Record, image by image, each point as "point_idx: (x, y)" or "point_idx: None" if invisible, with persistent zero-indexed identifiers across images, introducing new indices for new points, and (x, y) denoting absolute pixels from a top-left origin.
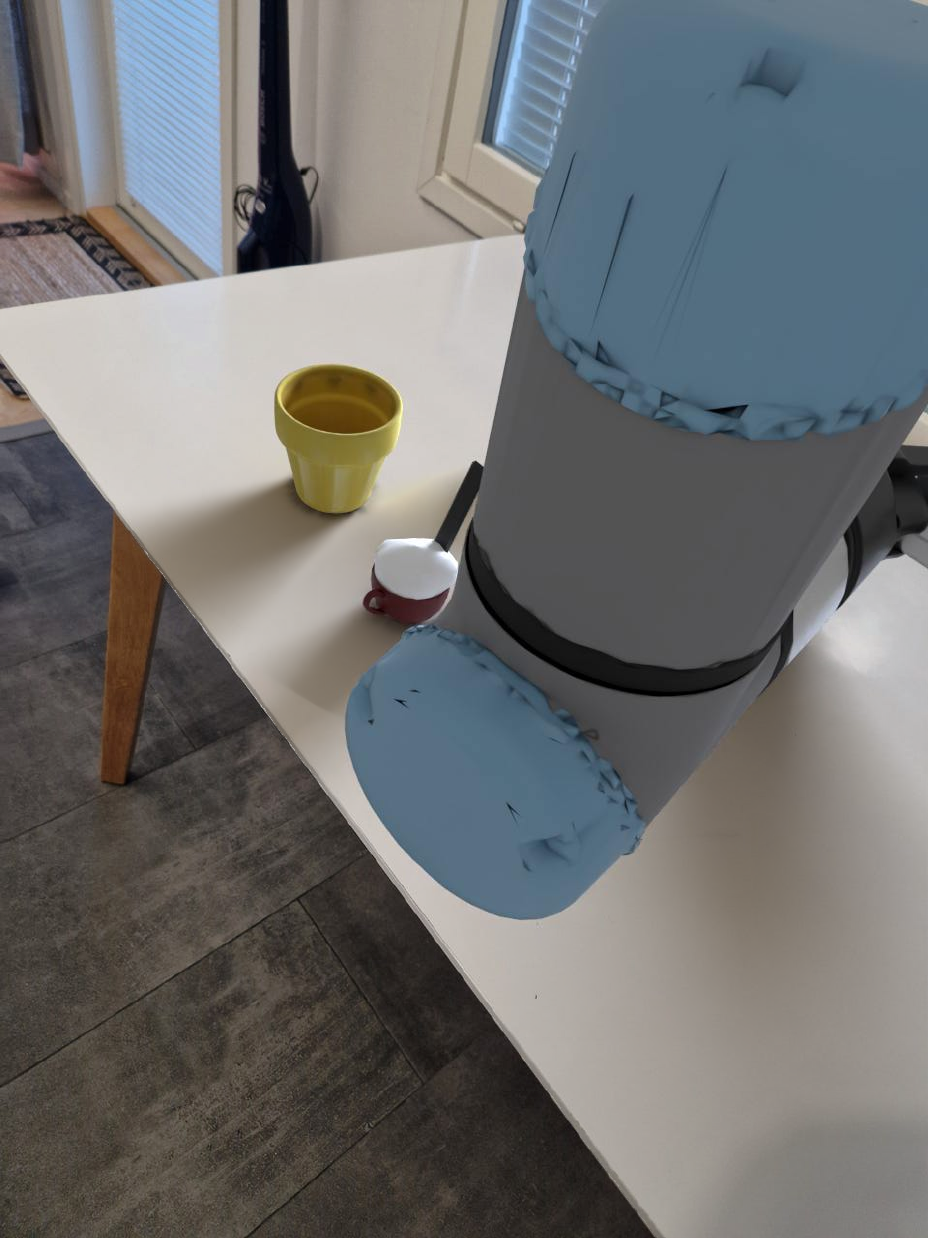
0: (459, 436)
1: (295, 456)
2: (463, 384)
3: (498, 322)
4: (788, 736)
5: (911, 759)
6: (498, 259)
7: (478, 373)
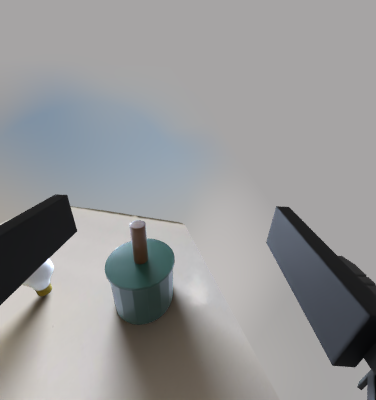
0: (6, 304)
1: None
2: None
3: None
4: (200, 366)
5: (240, 332)
6: None
7: None
